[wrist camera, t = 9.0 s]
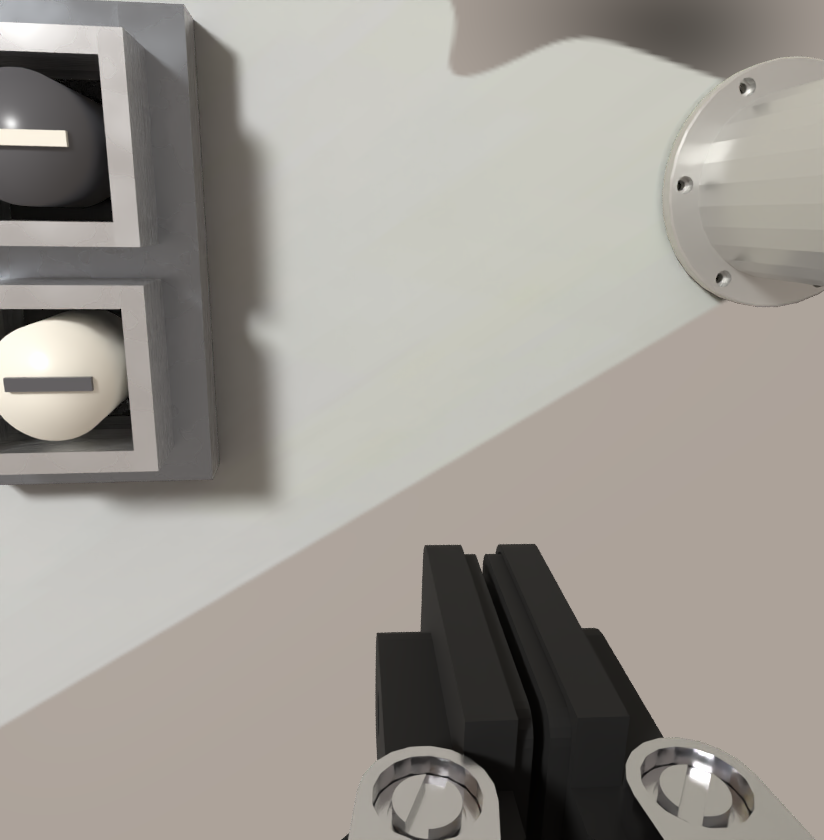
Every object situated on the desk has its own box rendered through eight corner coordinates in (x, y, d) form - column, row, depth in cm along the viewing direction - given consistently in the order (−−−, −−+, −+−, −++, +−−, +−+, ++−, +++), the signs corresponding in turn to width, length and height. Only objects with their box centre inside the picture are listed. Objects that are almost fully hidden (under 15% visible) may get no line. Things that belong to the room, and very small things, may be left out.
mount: (193, 19, 34) (166, -22, 28) (219, 463, 40) (201, 506, 34) (-81, 7, 33) (-170, -40, 27) (-13, 469, 39) (-74, 514, 33)
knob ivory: (140, 307, 37) (105, 324, 31) (148, 406, 39) (116, 441, 33) (32, 307, 37) (-25, 324, 31) (44, 408, 38) (-8, 443, 32)
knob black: (122, 93, 35) (80, 68, 29) (131, 208, 36) (93, 207, 30) (5, 90, 34) (-63, 62, 28) (20, 206, 35) (-42, 204, 29)
